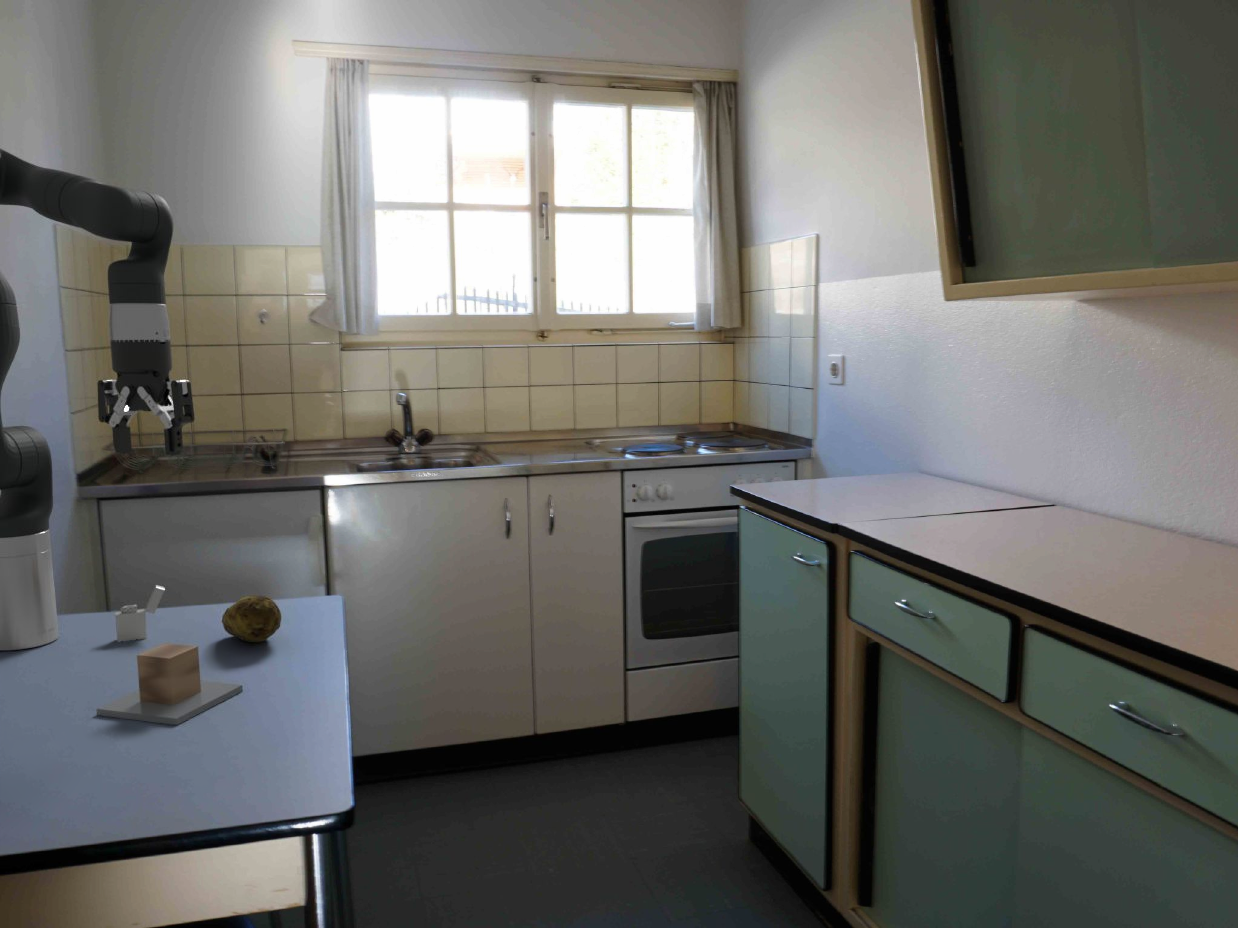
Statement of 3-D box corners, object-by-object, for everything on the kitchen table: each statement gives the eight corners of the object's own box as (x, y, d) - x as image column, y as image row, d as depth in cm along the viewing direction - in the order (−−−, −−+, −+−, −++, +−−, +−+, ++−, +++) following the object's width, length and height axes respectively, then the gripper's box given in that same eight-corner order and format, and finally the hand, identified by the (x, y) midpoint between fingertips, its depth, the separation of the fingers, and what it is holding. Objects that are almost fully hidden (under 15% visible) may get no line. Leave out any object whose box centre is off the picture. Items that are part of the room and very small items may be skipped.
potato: (278, 628, 157) (275, 580, 156) (284, 651, 145) (281, 599, 144) (222, 635, 154) (219, 585, 153) (224, 659, 142) (221, 605, 141)
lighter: (117, 642, 151) (113, 591, 150) (117, 639, 152) (113, 589, 151) (168, 635, 154) (164, 585, 153) (167, 632, 156) (164, 583, 155)
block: (140, 701, 123) (136, 654, 123) (169, 687, 128) (166, 643, 127) (172, 705, 122) (169, 658, 121) (201, 691, 127) (198, 646, 126)
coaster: (96, 714, 121) (96, 708, 121) (167, 682, 132) (167, 676, 132) (176, 724, 118) (176, 718, 117) (242, 690, 129) (242, 684, 129)
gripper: (77, 338, 134) (86, 456, 136) (162, 337, 130) (171, 458, 132) (120, 338, 141) (128, 450, 143) (202, 337, 137) (209, 452, 139)
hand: (148, 454), depth 137 cm, fingers open, 8 cm apart
